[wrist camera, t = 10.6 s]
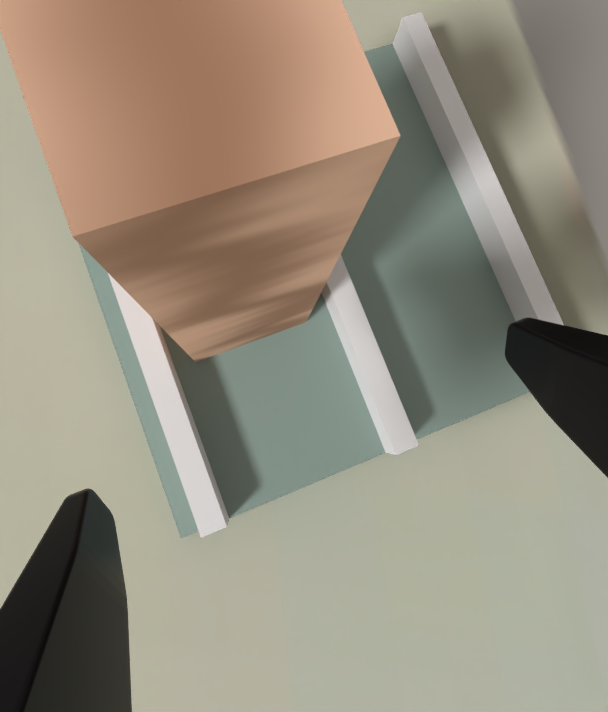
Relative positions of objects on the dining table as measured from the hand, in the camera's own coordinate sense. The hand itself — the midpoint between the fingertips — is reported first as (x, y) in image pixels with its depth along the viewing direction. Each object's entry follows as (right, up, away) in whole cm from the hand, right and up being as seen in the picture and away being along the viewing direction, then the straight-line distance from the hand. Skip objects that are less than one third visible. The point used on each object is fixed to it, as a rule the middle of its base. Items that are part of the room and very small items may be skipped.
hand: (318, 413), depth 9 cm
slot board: (0, +5, +12) cm, 13 cm away
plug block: (-3, +4, +10) cm, 12 cm away
